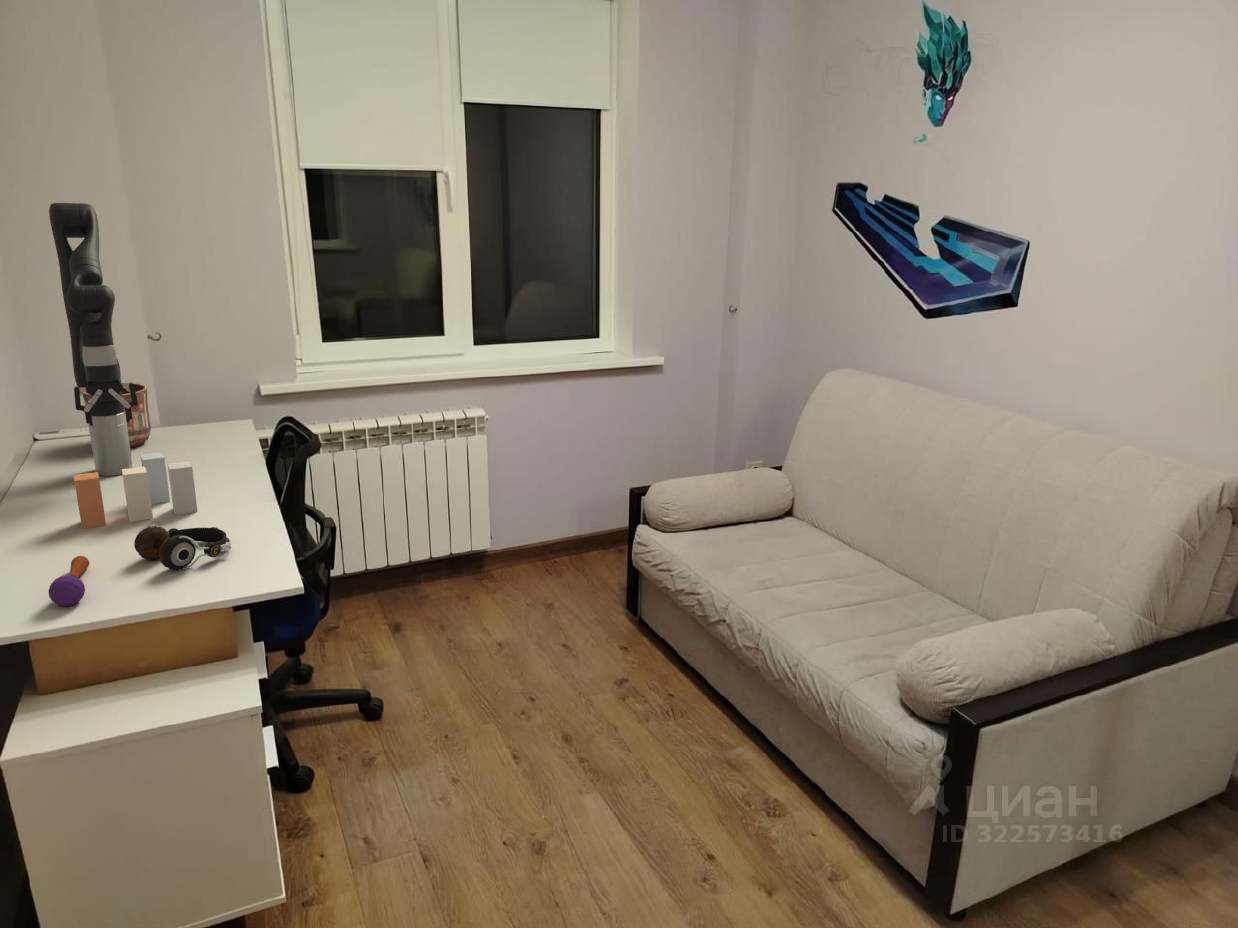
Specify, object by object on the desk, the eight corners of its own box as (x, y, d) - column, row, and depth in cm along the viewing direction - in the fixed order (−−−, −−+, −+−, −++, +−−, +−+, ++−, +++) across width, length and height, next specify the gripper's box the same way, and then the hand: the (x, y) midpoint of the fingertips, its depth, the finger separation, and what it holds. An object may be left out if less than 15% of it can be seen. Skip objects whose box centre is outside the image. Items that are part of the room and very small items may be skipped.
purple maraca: (97, 550, 182) (83, 581, 165) (95, 577, 183) (81, 610, 166) (64, 549, 180) (47, 580, 162) (62, 576, 181) (44, 610, 163)
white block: (146, 498, 224) (140, 454, 220) (167, 495, 226) (162, 452, 223) (148, 504, 220) (142, 460, 216) (170, 501, 222) (164, 457, 219)
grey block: (173, 508, 217) (167, 463, 214) (194, 505, 220) (189, 461, 216) (175, 514, 213) (169, 469, 210) (197, 511, 216) (192, 466, 212)
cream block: (128, 515, 212) (121, 469, 209) (150, 511, 215) (144, 466, 211) (129, 521, 208) (123, 474, 205) (153, 518, 211) (146, 472, 207)
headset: (124, 523, 186) (208, 511, 203) (123, 557, 187) (207, 542, 204) (171, 541, 178) (254, 527, 195) (170, 577, 179) (253, 559, 196)
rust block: (81, 521, 207) (73, 474, 203) (105, 518, 210) (97, 472, 206) (82, 528, 203) (74, 480, 199) (106, 525, 206) (99, 477, 202)
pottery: (76, 447, 263) (67, 390, 258) (127, 434, 279) (120, 380, 273) (117, 456, 257) (109, 398, 251) (167, 442, 272) (160, 387, 267)
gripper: (130, 359, 230) (139, 418, 234) (68, 363, 223) (78, 424, 227) (132, 362, 224) (141, 423, 228) (68, 366, 217) (78, 429, 221)
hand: (109, 423), depth 228 cm, fingers open, 8 cm apart
